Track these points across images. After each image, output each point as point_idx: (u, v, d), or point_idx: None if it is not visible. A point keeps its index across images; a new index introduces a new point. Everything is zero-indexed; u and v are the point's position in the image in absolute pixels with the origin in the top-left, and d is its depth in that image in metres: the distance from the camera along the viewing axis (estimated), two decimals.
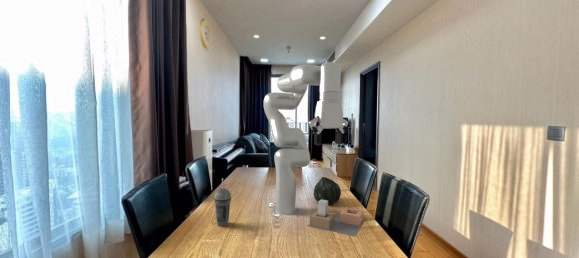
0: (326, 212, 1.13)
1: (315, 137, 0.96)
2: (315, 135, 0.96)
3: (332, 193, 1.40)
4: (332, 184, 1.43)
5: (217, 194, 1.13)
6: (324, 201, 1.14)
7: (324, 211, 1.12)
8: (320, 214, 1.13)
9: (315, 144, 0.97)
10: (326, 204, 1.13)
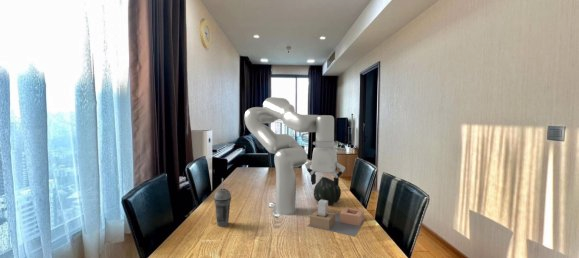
0: (326, 212, 1.13)
1: (337, 180, 1.10)
2: (337, 178, 1.10)
3: (332, 193, 1.40)
4: (332, 184, 1.43)
5: (217, 194, 1.13)
6: (324, 201, 1.14)
7: (324, 211, 1.12)
8: (320, 214, 1.13)
9: (335, 187, 1.10)
10: (326, 204, 1.13)
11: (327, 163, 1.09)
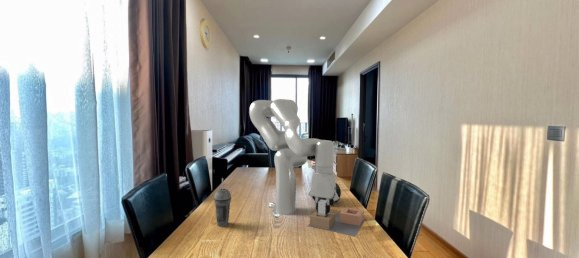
0: None
1: (329, 207, 1.13)
2: (329, 205, 1.13)
3: None
4: None
5: (217, 194, 1.13)
6: (324, 201, 1.14)
7: (324, 211, 1.12)
8: (320, 214, 1.13)
9: None
10: None
11: (326, 188, 1.10)
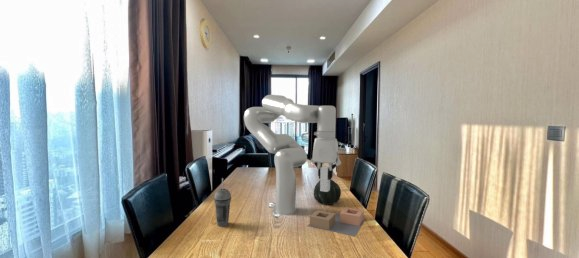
0: None
1: (331, 173, 1.12)
2: (331, 171, 1.12)
3: (332, 193, 1.40)
4: (332, 184, 1.43)
5: (217, 194, 1.13)
6: (326, 167, 1.13)
7: (326, 177, 1.12)
8: (323, 180, 1.12)
9: (329, 179, 1.12)
10: None
11: (328, 153, 1.10)
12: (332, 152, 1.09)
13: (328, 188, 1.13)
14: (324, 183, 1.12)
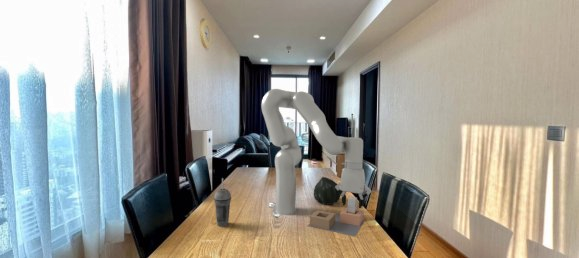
0: (355, 208, 1.18)
1: (362, 201, 1.16)
2: (362, 200, 1.16)
3: (332, 193, 1.40)
4: (332, 184, 1.43)
5: (217, 194, 1.13)
6: (353, 198, 1.18)
7: (354, 208, 1.17)
8: (350, 211, 1.17)
9: (360, 208, 1.16)
10: (355, 201, 1.18)
11: (356, 184, 1.15)
12: (360, 183, 1.14)
13: None
14: None
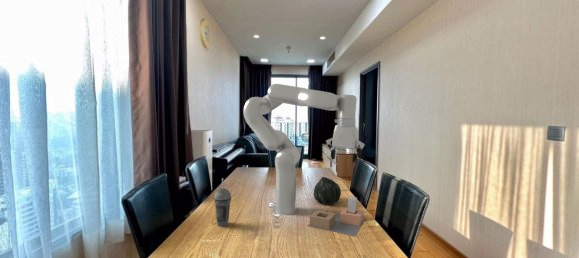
0: (355, 208, 1.18)
1: (356, 156, 1.18)
2: (356, 154, 1.18)
3: (332, 193, 1.40)
4: (332, 184, 1.43)
5: (217, 194, 1.13)
6: (353, 198, 1.18)
7: (354, 208, 1.17)
8: (350, 211, 1.17)
9: None
10: (355, 201, 1.17)
11: (348, 139, 1.17)
12: (351, 138, 1.16)
13: None
14: None
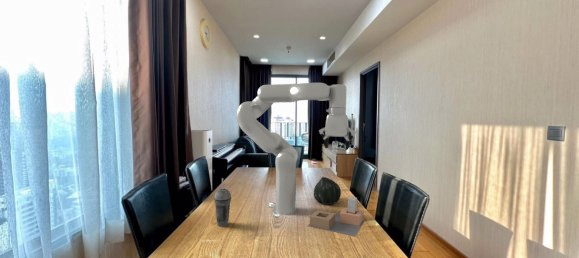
0: (355, 208, 1.18)
1: (349, 143, 1.22)
2: (349, 142, 1.22)
3: (332, 193, 1.40)
4: (332, 184, 1.43)
5: (217, 194, 1.13)
6: (353, 198, 1.18)
7: (354, 208, 1.17)
8: (350, 211, 1.17)
9: (346, 149, 1.22)
10: (355, 201, 1.17)
11: (340, 127, 1.21)
12: (343, 126, 1.20)
13: None
14: None
